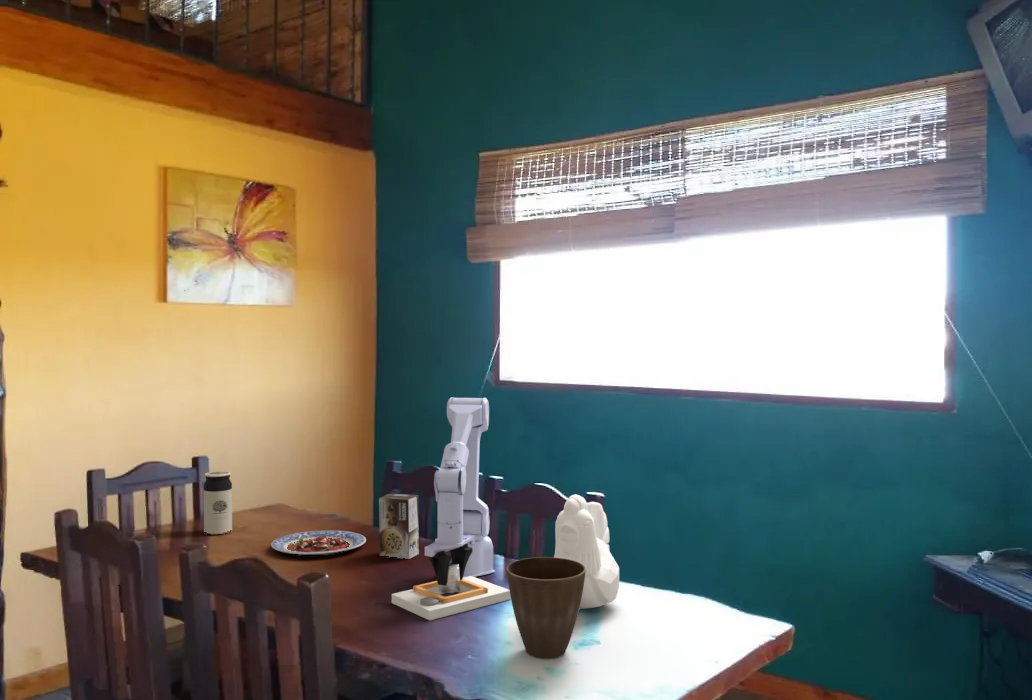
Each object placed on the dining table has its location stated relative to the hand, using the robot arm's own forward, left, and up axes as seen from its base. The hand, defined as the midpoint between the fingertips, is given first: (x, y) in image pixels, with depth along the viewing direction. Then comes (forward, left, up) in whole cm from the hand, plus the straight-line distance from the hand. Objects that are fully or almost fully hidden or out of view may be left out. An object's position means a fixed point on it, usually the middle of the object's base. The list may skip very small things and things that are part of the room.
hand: (450, 581), depth 189 cm
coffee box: (-12, -40, -4) cm, 43 cm away
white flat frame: (0, +1, -4) cm, 4 cm away
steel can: (0, 0, -2) cm, 2 cm away
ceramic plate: (+1, -61, -5) cm, 62 cm away
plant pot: (+4, +37, -4) cm, 37 cm away
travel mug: (+16, -97, -4) cm, 99 cm away
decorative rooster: (-24, +21, -4) cm, 32 cm away
